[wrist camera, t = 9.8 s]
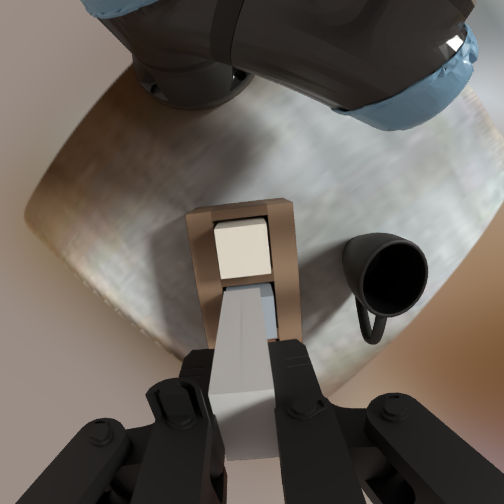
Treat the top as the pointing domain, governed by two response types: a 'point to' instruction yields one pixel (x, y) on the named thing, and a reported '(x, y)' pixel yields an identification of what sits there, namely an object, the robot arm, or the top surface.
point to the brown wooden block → (281, 277)
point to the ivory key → (242, 247)
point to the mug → (383, 278)
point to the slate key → (263, 305)
